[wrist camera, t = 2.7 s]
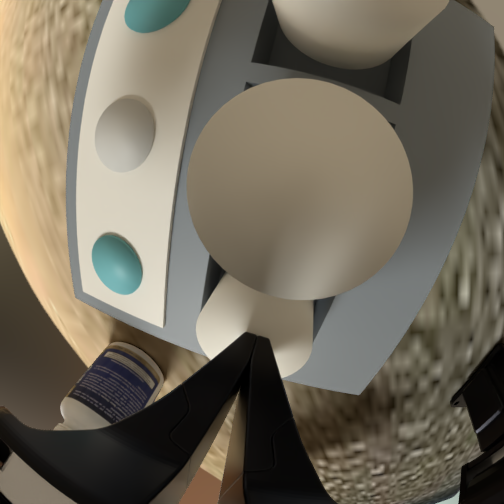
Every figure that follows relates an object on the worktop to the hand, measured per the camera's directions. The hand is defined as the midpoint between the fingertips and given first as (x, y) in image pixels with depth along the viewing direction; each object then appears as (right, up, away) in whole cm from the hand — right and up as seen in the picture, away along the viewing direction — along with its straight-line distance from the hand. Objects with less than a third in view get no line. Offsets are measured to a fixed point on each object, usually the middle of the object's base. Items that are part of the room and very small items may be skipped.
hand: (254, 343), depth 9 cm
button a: (+3, +10, -3) cm, 11 cm away
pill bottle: (-9, -6, +10) cm, 15 cm away
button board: (0, +7, +2) cm, 8 cm away
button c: (+1, +1, +3) cm, 4 cm away
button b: (+1, +5, -1) cm, 6 cm away
